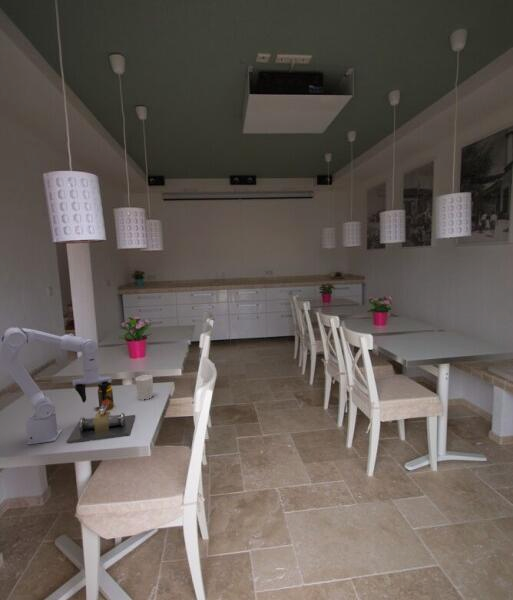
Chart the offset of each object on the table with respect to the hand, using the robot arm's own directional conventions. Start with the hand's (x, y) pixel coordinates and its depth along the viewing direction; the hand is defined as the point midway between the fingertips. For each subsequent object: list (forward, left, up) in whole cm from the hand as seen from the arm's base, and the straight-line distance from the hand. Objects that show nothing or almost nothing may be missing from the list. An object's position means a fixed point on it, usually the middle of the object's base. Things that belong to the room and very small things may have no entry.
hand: (94, 400), depth 143 cm
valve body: (+4, -7, -10) cm, 13 cm away
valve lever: (+4, -4, -3) cm, 6 cm away
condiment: (0, +14, -10) cm, 17 cm away
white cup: (+17, +22, -10) cm, 29 cm away
